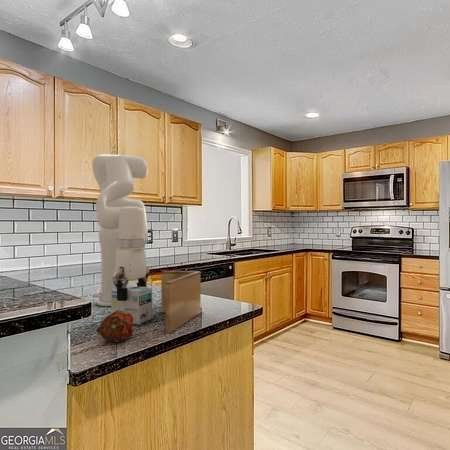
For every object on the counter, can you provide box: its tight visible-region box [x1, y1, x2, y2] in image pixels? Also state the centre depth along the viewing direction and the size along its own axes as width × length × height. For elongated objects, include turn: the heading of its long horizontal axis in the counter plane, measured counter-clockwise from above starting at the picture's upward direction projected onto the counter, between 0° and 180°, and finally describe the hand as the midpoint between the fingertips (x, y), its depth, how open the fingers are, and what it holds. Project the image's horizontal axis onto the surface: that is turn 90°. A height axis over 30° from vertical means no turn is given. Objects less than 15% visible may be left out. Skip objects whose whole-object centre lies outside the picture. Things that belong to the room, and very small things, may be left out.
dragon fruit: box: [95, 310, 135, 343], centre depth 89 cm, size 8×8×12 cm
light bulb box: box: [110, 285, 154, 325], centre depth 105 cm, size 11×7×11 cm, turn 78°
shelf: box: [160, 270, 202, 334], centre depth 105 cm, size 14×21×15 cm
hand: (132, 297), depth 105 cm, fingers open, 9 cm apart
